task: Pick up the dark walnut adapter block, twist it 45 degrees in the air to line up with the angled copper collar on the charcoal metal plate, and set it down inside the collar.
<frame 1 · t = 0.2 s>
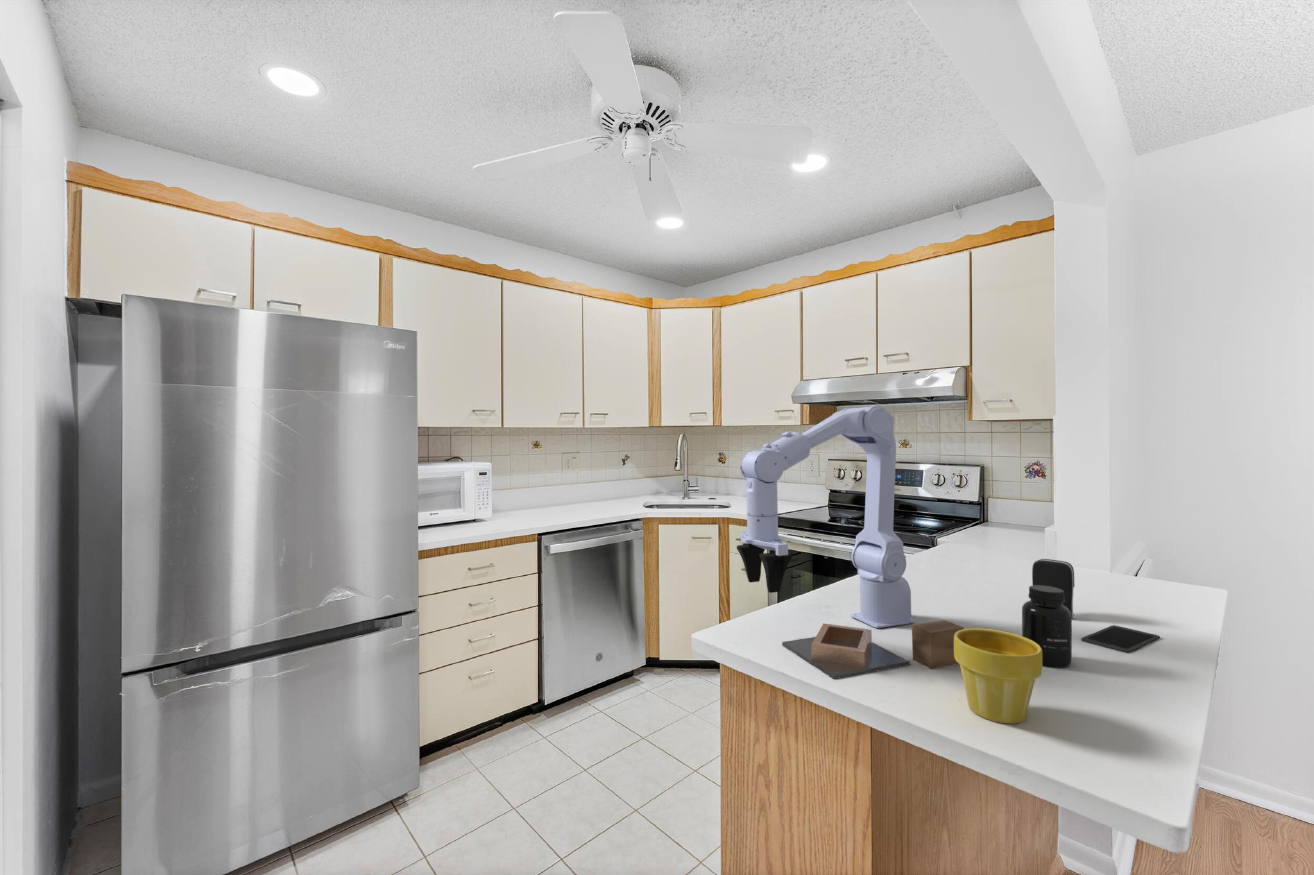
hand: (763, 586, 104), 10 cm above the counter, tool pointing down, fingers open, 7 cm apart
plant pot: (997, 713, 75), on the counter
cell phone: (1120, 642, 101), on the counter
battery charger: (1054, 615, 115), on the counter
supplement bottle: (1046, 661, 92), on the counter
adapter block: (938, 661, 92), on the counter
duct collar: (842, 654, 96), on the counter
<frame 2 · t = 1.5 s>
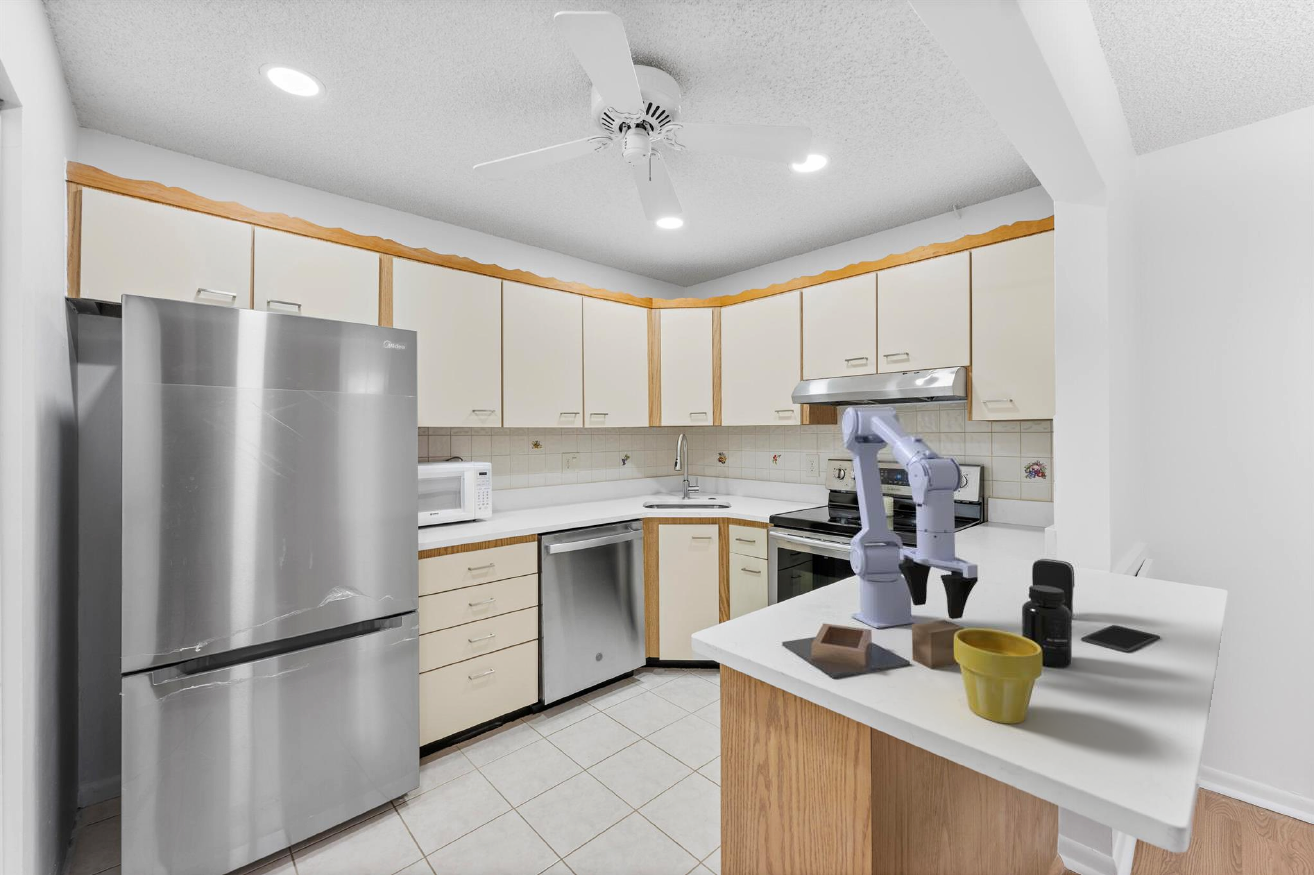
hand: (936, 610, 92), 8 cm above the counter, tool pointing down, fingers open, 7 cm apart
nothing on the counter moved.
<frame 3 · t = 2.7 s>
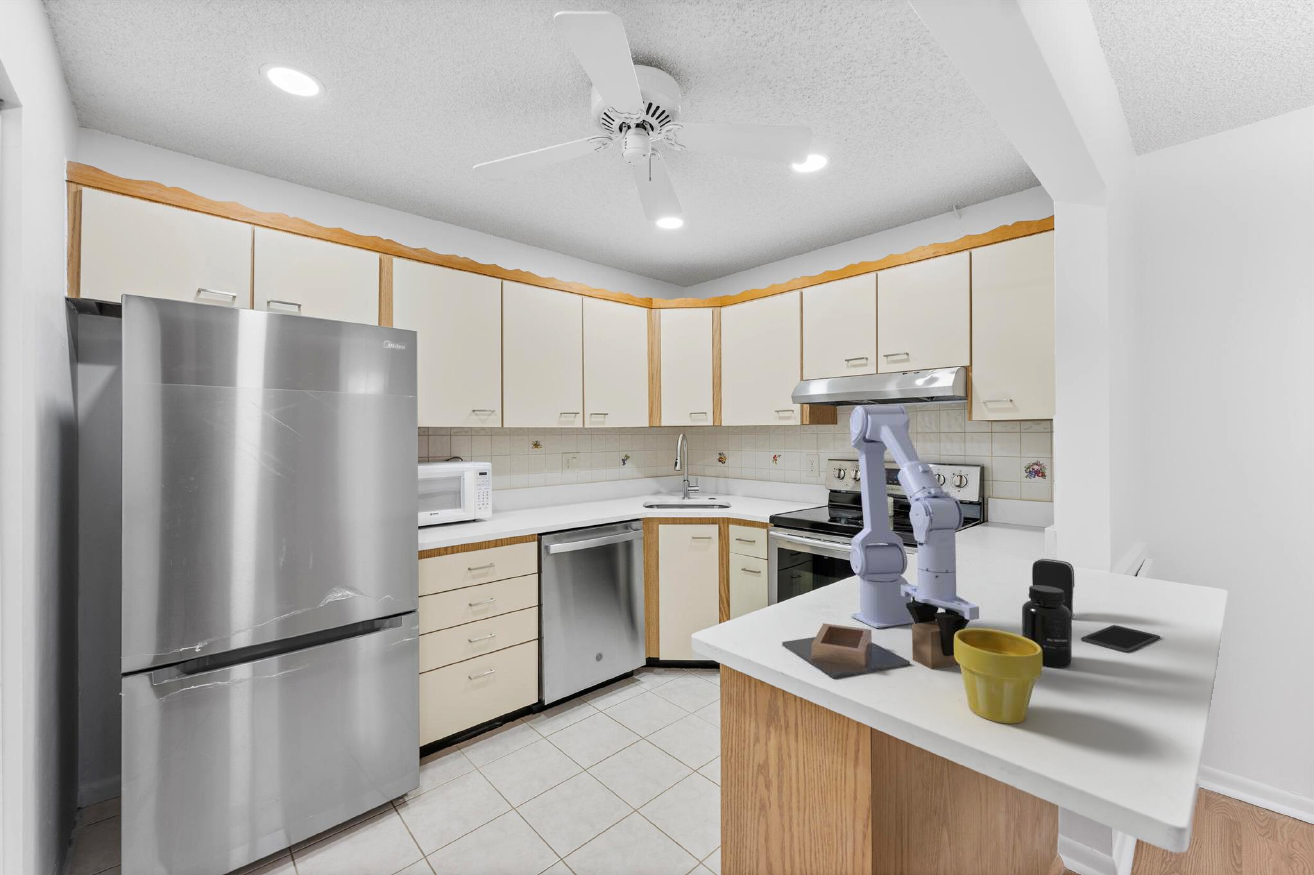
hand: (938, 649, 92), 2 cm above the counter, tool pointing down, fingers closed on adapter block, 4 cm apart
adapter block: (938, 661, 92), on the counter, touching gripper
everything else where it was.
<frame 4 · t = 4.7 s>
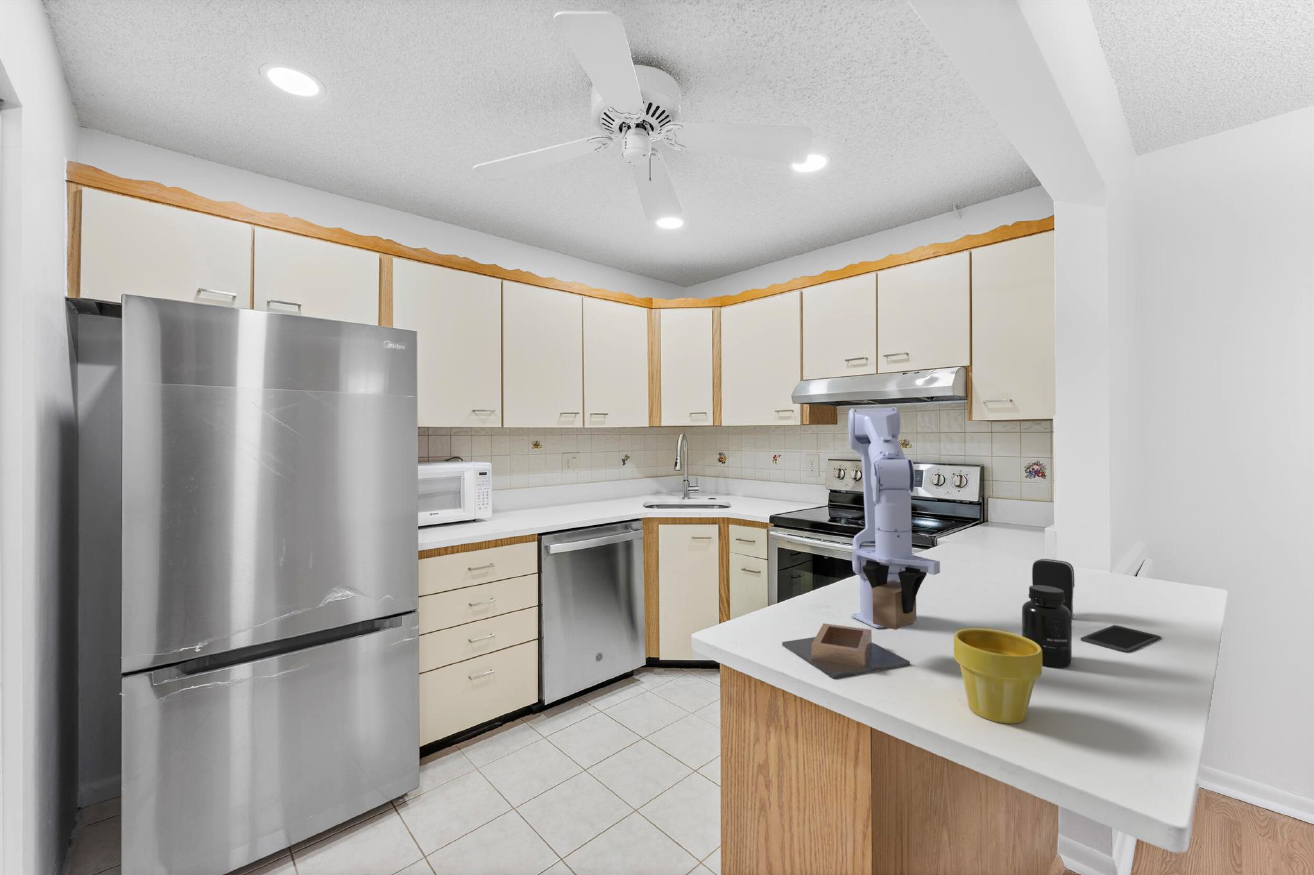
hand: (894, 608, 94), 8 cm above the counter, tool pointing down, fingers closed on adapter block, 4 cm apart
adapter block: (894, 621, 94), point 6 cm above the counter, touching gripper
everything else where it was.
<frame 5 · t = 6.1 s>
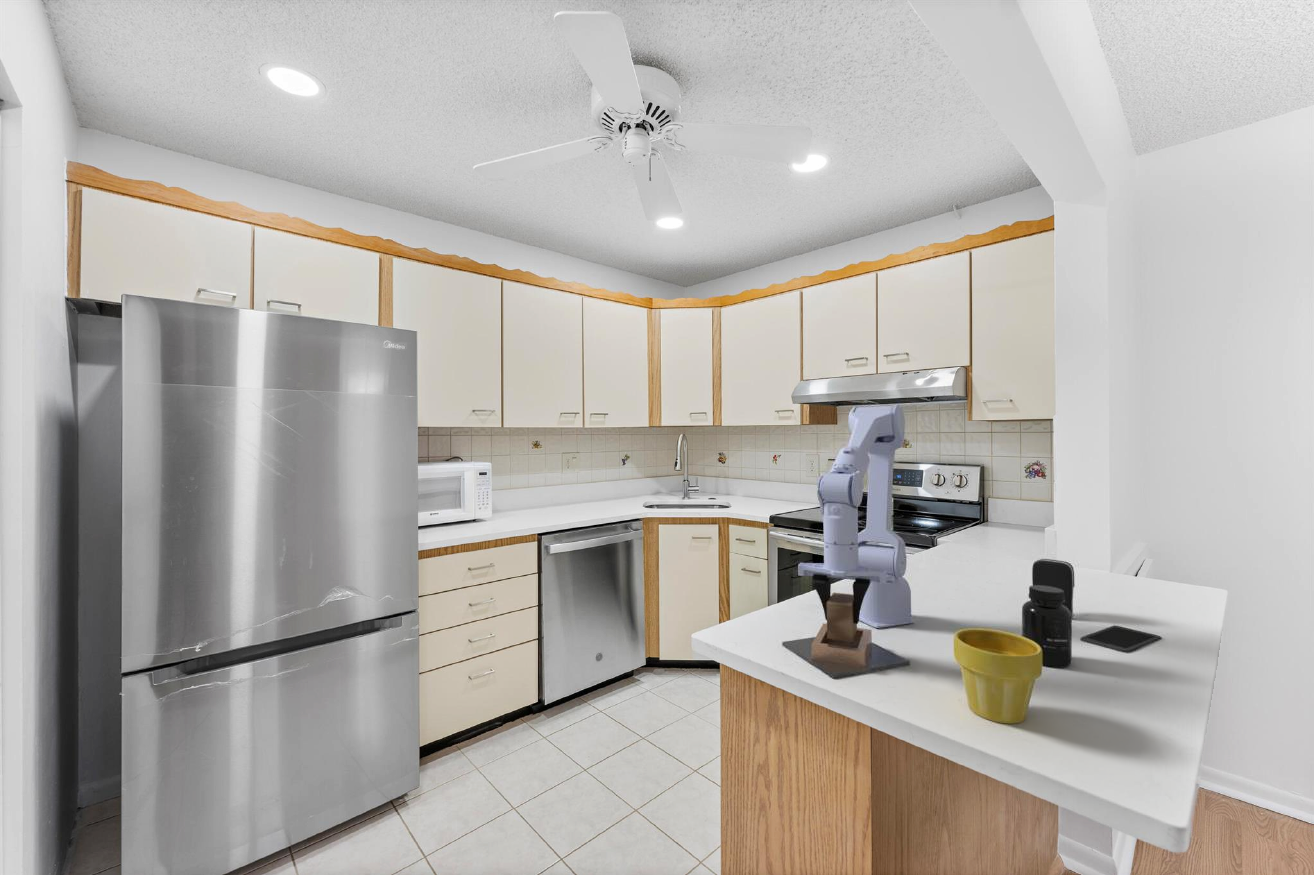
hand: (842, 620, 96), 6 cm above the counter, tool pointing down, fingers closed on adapter block, 4 cm apart
adapter block: (842, 633, 96), point 4 cm above the counter, touching gripper
everything else where it was.
when the fingers open (4 cm above the counter, at t = 7.0 s): adapter block stays where it is, resting on duct collar.
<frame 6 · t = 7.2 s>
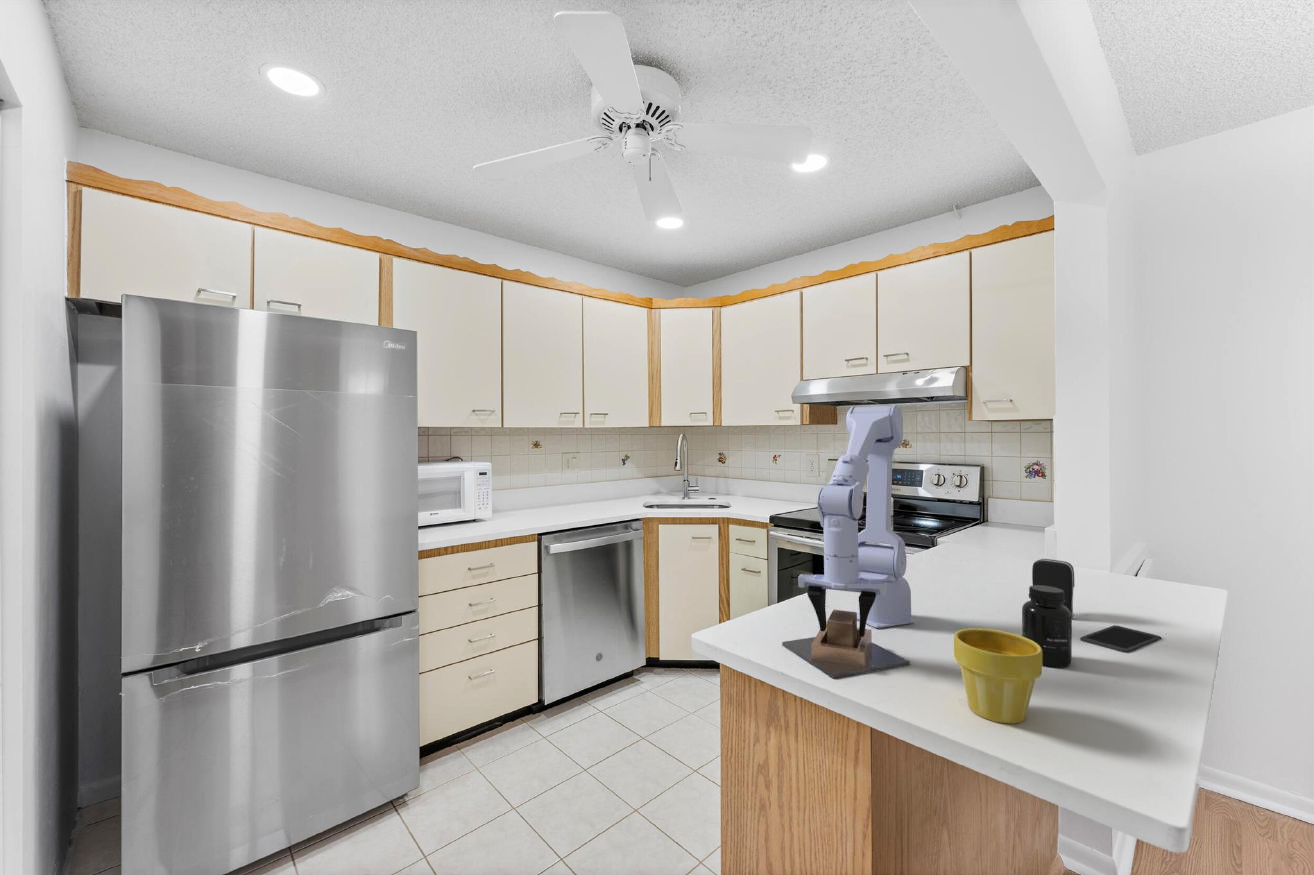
hand: (842, 632, 96), 4 cm above the counter, tool pointing down, fingers open, 6 cm apart
adapter block: (842, 651, 96), point 1 cm above the counter, touching duct collar
everything else where it was.
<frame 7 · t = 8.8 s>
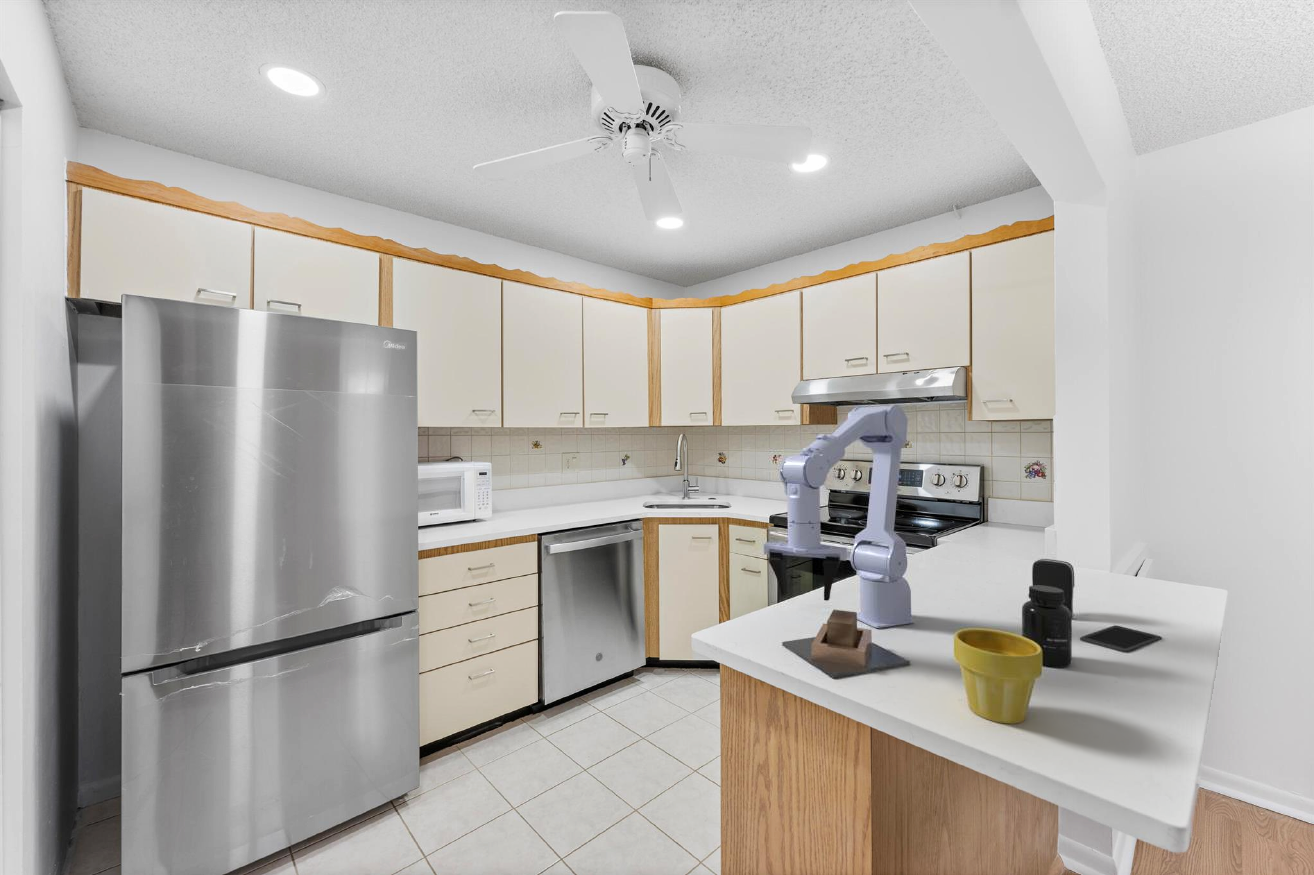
hand: (805, 596, 100), 9 cm above the counter, tool pointing down, fingers open, 7 cm apart
nothing on the counter moved.
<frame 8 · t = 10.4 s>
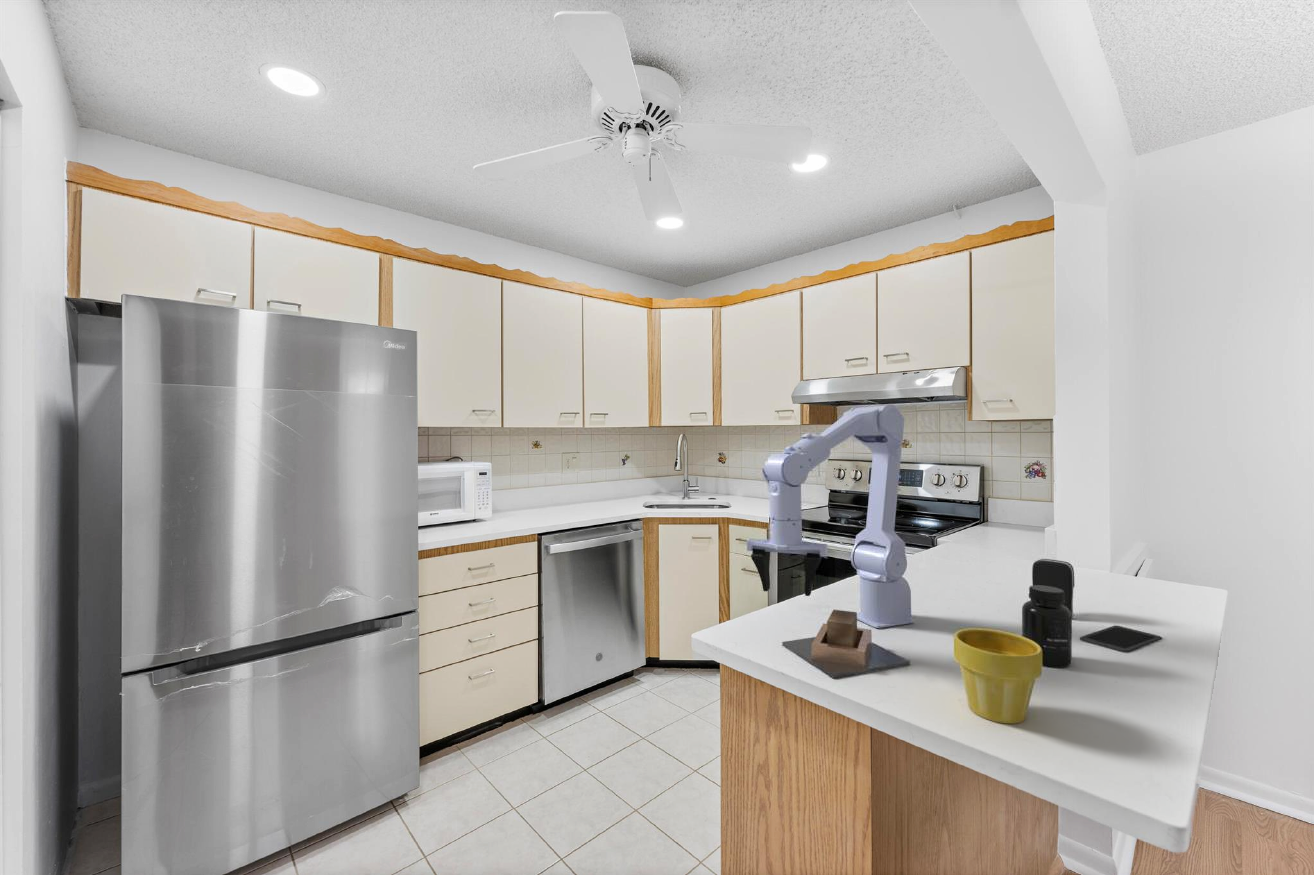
hand: (787, 592, 102), 9 cm above the counter, tool pointing down, fingers open, 7 cm apart
nothing on the counter moved.
at the end: adapter block 0.0 cm off-centre on the duct collar, point 0.6 cm above the duct collar's base; adapter block tilted 0°; the gripper is holding nothing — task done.
